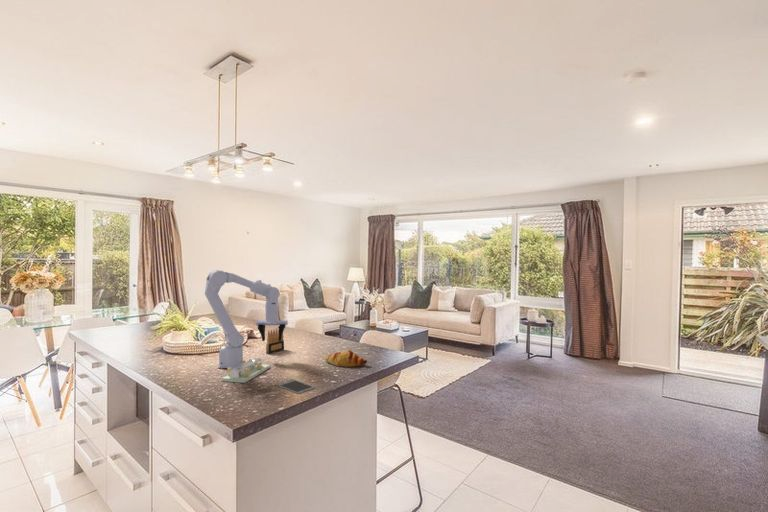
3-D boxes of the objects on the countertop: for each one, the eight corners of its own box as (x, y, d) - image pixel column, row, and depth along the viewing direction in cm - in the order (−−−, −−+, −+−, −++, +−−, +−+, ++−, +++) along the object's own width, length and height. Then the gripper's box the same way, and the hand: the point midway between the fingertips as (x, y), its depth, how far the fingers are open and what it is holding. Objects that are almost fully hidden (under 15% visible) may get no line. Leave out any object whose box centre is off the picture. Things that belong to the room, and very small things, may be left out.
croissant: (322, 371, 167) (318, 358, 163) (331, 356, 175) (327, 343, 172) (364, 375, 160) (361, 361, 156) (372, 359, 168) (368, 345, 165)
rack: (221, 381, 143) (221, 370, 143) (249, 366, 163) (249, 357, 163) (244, 382, 141) (244, 372, 141) (270, 367, 161) (270, 358, 161)
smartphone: (316, 388, 135) (316, 387, 135) (298, 395, 129) (298, 393, 129) (292, 380, 145) (292, 378, 145) (274, 385, 139) (274, 383, 139)
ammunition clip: (268, 354, 183) (268, 330, 183) (266, 353, 184) (266, 330, 184) (284, 349, 192) (284, 327, 193) (281, 349, 193) (281, 326, 193)
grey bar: (240, 378, 142) (240, 371, 142) (228, 377, 143) (228, 370, 143) (263, 365, 160) (263, 358, 160) (252, 364, 161) (252, 358, 161)
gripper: (253, 313, 168) (253, 342, 168) (285, 312, 169) (285, 342, 169) (258, 311, 175) (258, 339, 175) (288, 310, 176) (288, 338, 176)
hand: (271, 340), depth 173 cm, fingers open, 7 cm apart
